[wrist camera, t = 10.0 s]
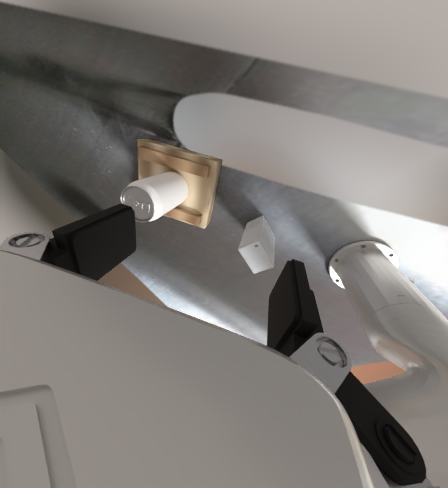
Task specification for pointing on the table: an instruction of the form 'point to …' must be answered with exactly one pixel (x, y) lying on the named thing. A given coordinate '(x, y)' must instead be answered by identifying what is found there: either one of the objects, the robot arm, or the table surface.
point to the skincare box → (258, 245)
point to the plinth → (191, 169)
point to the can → (155, 195)
